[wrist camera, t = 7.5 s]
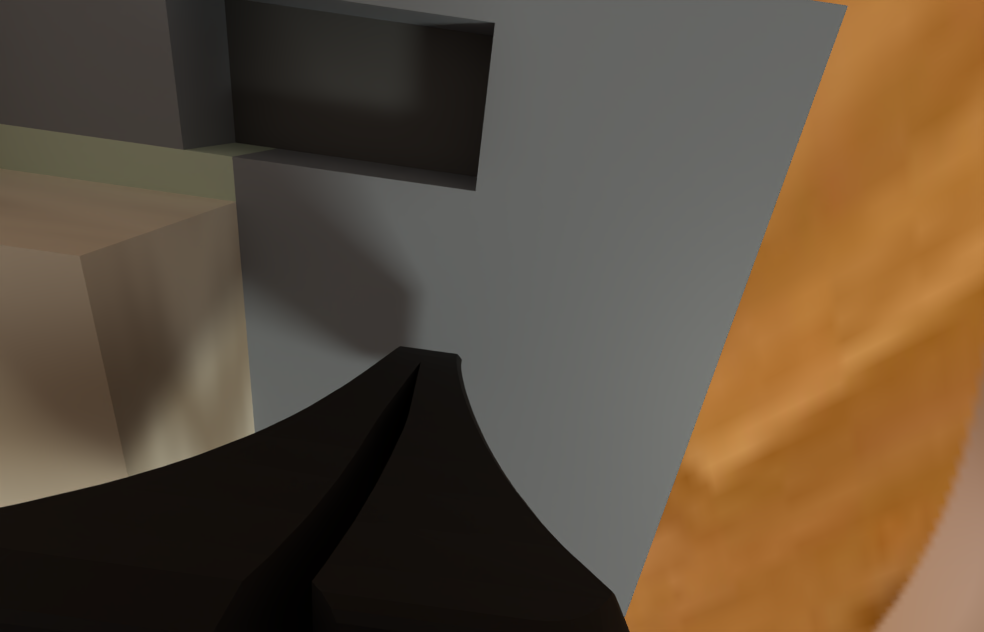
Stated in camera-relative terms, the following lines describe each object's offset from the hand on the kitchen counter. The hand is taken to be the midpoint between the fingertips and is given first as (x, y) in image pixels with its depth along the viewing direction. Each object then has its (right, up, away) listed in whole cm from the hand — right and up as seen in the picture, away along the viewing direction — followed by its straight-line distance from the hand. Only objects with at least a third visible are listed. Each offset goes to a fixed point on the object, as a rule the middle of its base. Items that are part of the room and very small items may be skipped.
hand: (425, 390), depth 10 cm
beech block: (-7, +2, +1) cm, 8 cm away
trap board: (-2, +2, +3) cm, 5 cm away
